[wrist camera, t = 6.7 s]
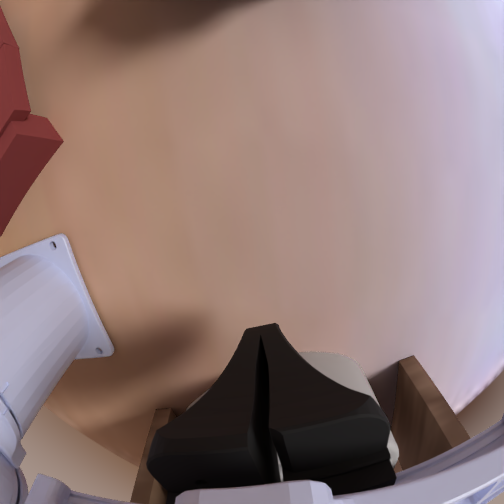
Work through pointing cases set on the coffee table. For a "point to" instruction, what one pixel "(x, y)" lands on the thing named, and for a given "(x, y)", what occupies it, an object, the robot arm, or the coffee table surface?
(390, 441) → the lumpy-topped squat cylinder
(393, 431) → the walnut shelf
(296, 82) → the coffee table surface
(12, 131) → the carton
